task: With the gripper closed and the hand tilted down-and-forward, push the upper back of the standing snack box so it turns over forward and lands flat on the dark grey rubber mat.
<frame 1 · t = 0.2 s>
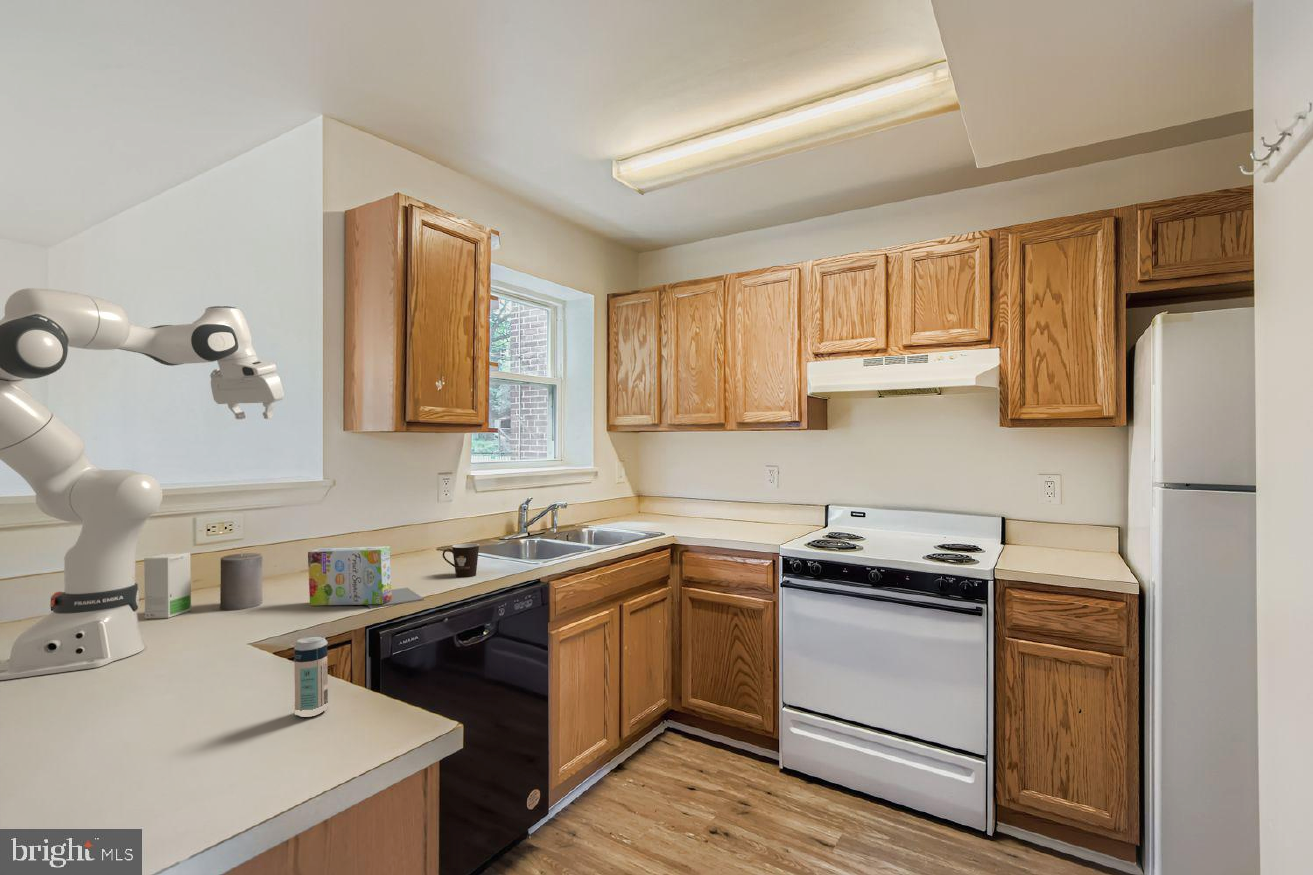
hand: (254, 418, 165), 51 cm above the counter, tool tilted 20°, fingers open, 8 cm apart
supplement bottle: (311, 714, 99), on the counter
mat: (389, 598, 174), on the counter
coffee mug: (462, 575, 204), on the counter
pillar candle: (242, 606, 168), on the counter
snack box: (351, 603, 168), on the counter, touching mat
skincare box: (168, 615, 160), on the counter
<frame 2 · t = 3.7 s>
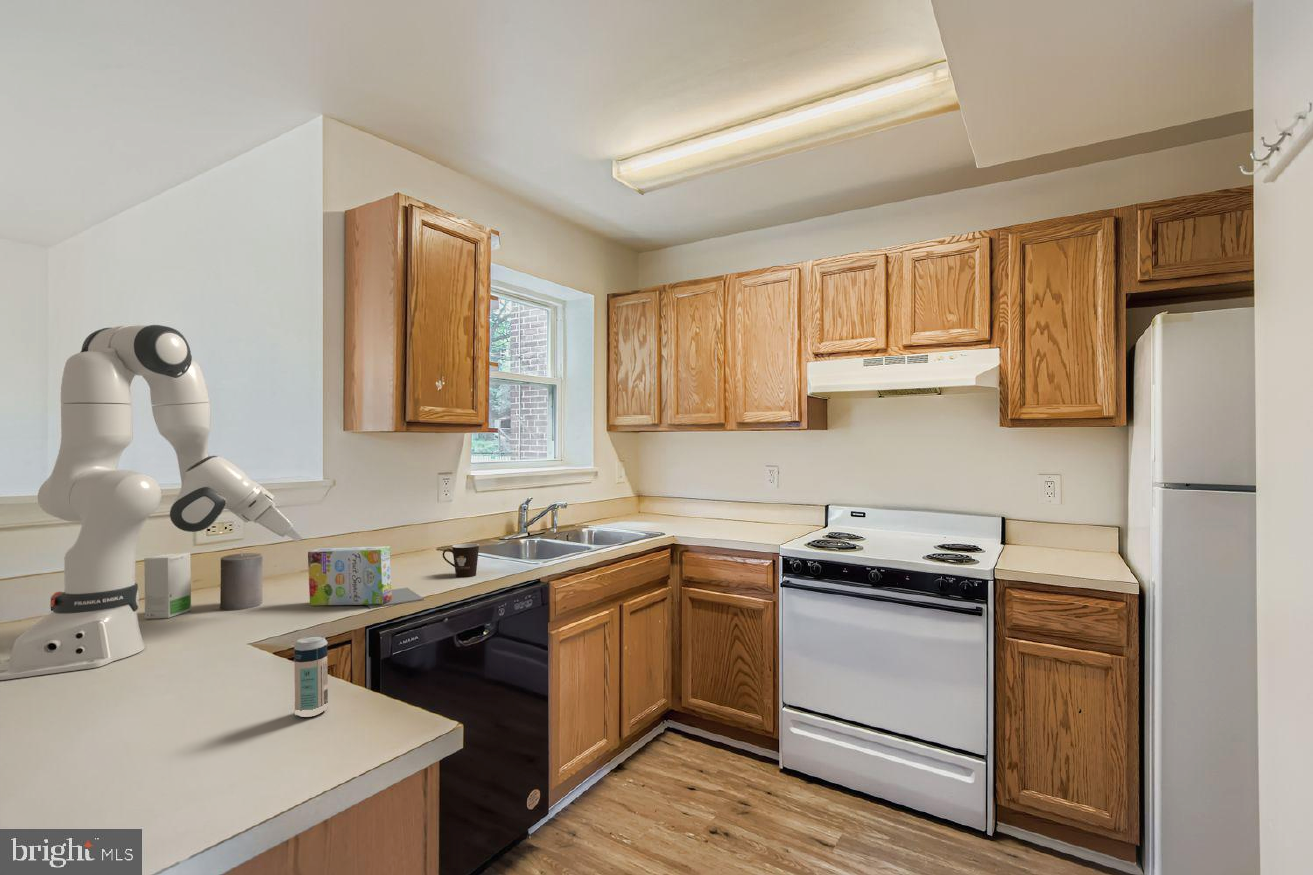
hand: (299, 539, 161), 19 cm above the counter, tool tilted 45°, fingers closed
nothing on the counter moved.
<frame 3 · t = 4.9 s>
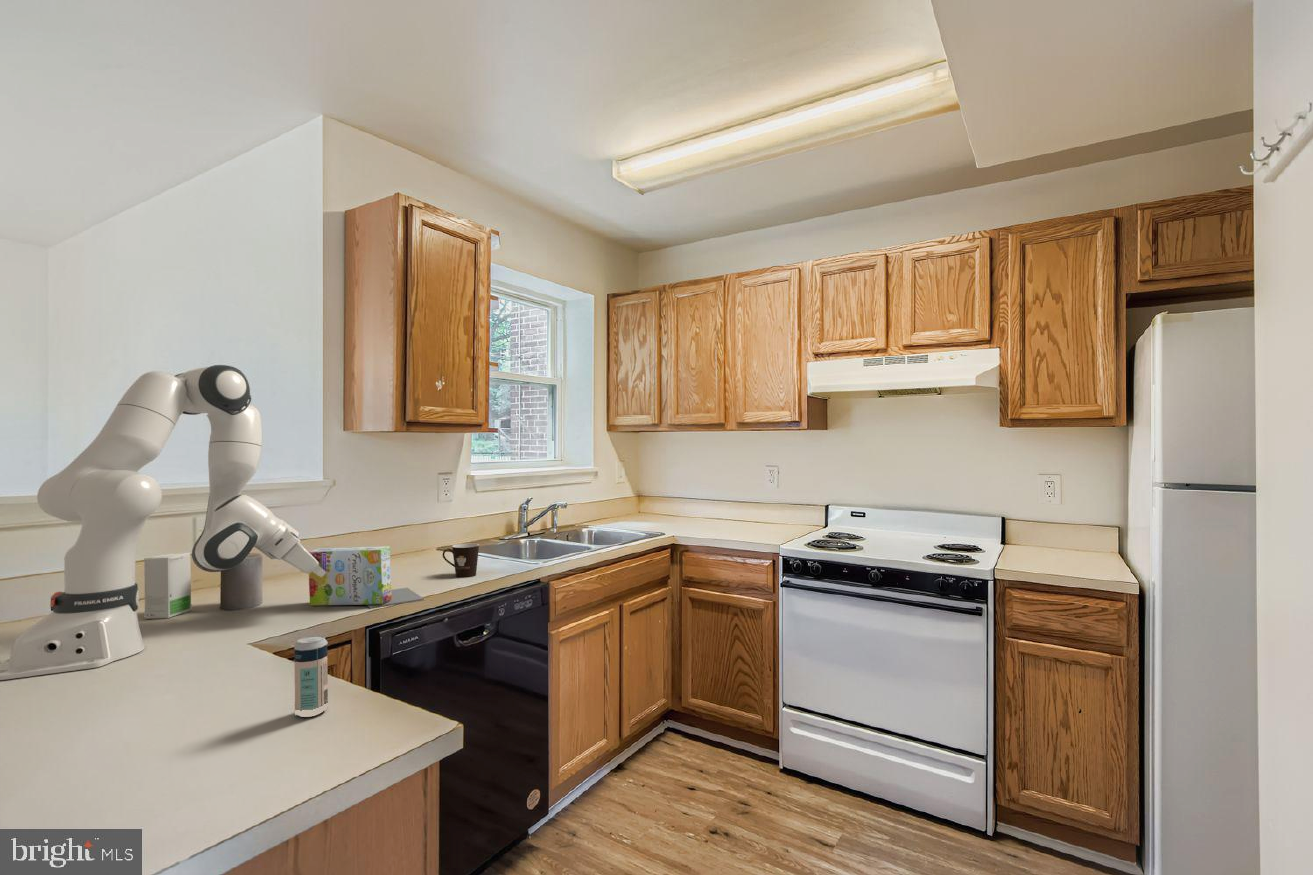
hand: (323, 574, 164), 9 cm above the counter, tool tilted 45°, fingers closed
nothing on the counter moved.
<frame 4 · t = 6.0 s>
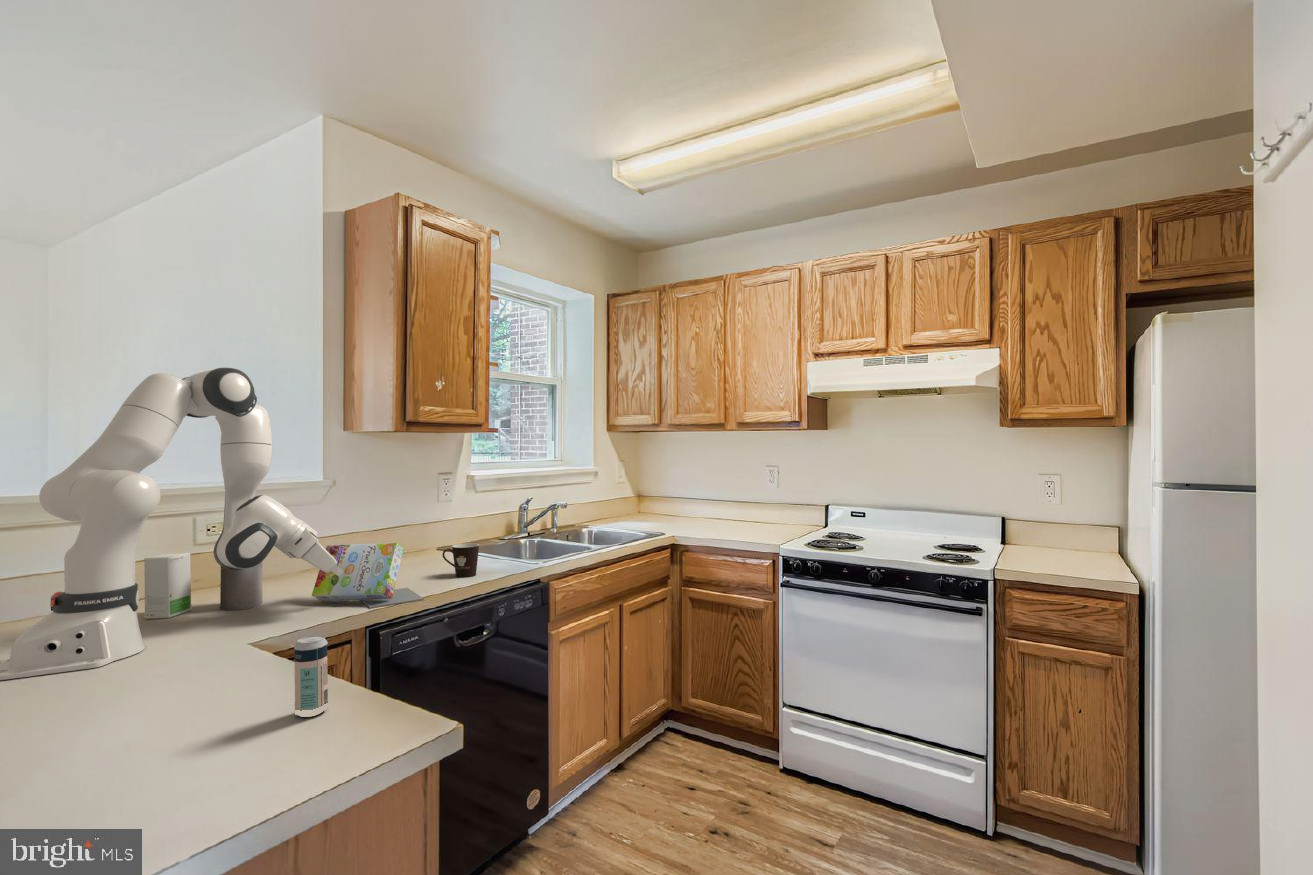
hand: (340, 573, 167), 9 cm above the counter, tool tilted 45°, fingers closed
snack box: (351, 598, 168), point 1 cm above the counter, touching mat
everything else where it was.
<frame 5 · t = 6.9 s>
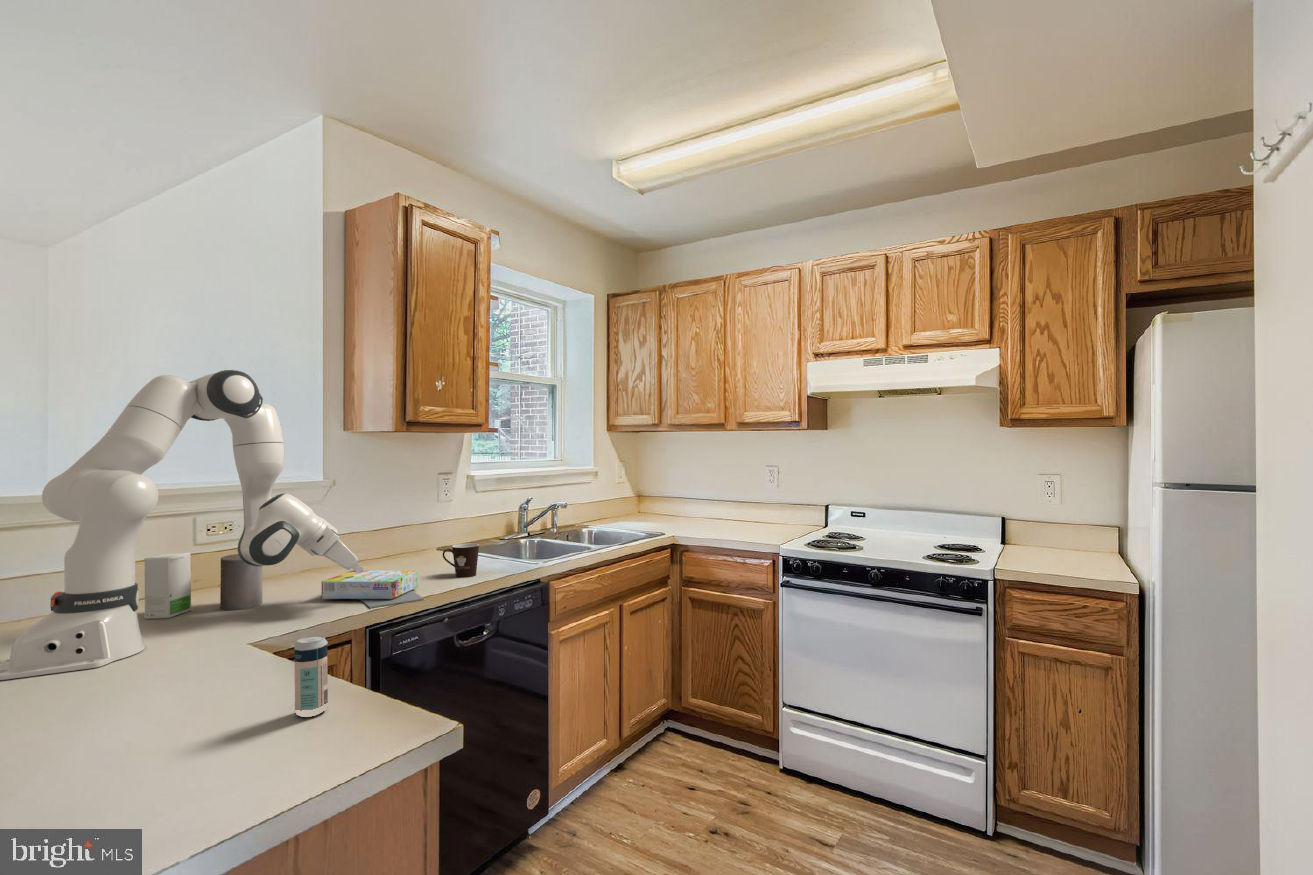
hand: (360, 570, 170), 9 cm above the counter, tool tilted 45°, fingers closed
snack box: (355, 590, 170), point 3 cm above the counter, touching mat
everything else where it was.
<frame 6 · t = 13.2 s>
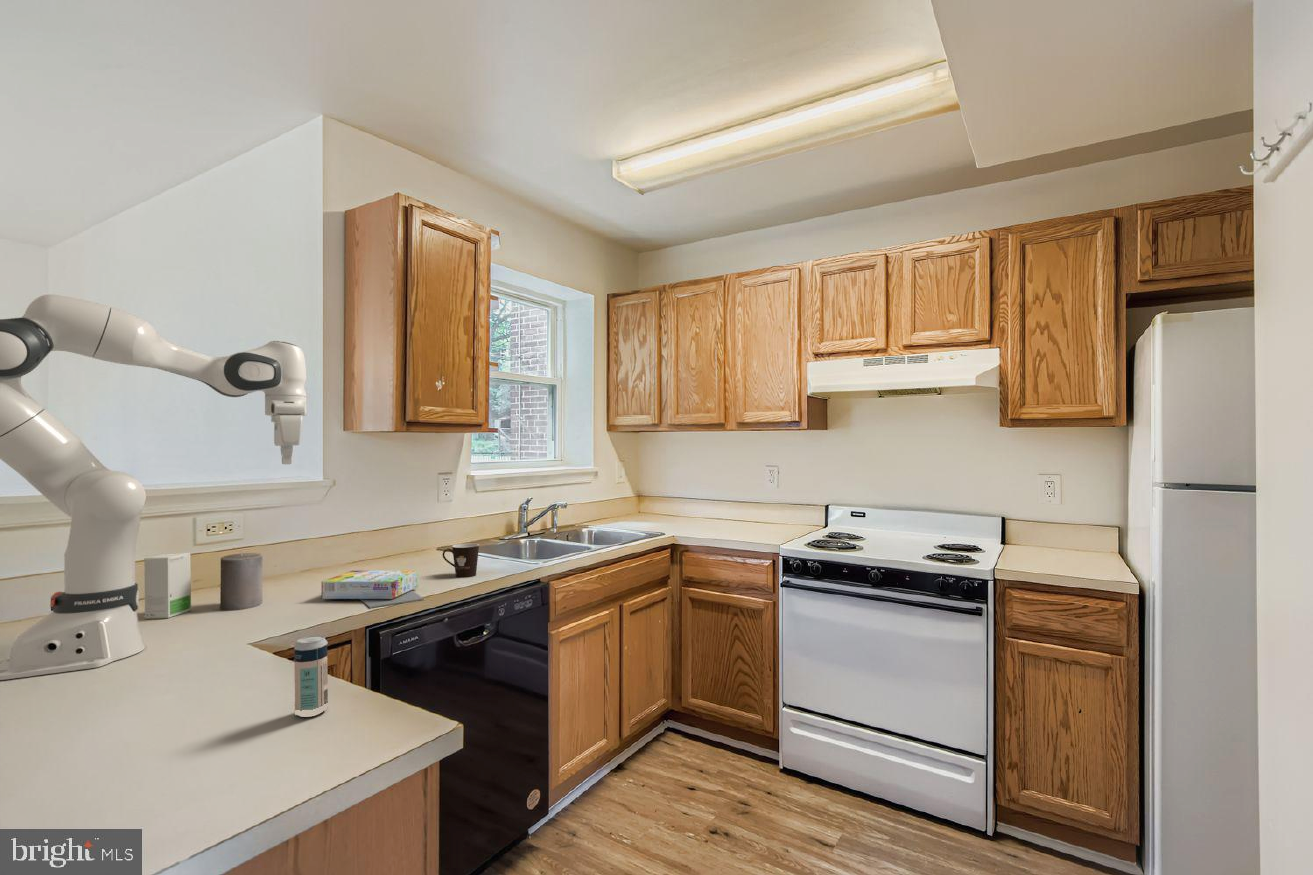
hand: (286, 464, 151), 39 cm above the counter, tool pointing down, fingers closed
nothing on the counter moved.
at the end: snack box tilted 89°; snack box inside the target area (8.6 cm from its centre), point 3.0 cm above the counter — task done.
